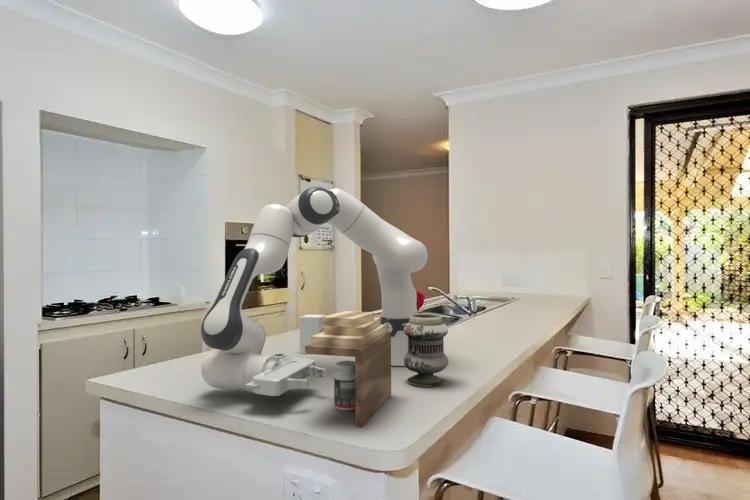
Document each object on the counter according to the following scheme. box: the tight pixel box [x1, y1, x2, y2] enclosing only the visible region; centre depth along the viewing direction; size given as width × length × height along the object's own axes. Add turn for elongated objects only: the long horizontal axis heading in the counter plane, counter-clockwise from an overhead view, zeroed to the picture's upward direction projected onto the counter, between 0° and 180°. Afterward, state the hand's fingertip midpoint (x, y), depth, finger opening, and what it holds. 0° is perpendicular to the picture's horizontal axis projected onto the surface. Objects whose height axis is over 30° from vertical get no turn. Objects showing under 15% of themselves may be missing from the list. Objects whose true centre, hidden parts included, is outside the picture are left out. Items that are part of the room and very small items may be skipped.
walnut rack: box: [304, 331, 392, 428], centre depth 108 cm, size 12×22×16 cm, turn 163°
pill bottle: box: [333, 360, 356, 411], centre depth 109 cm, size 6×6×10 cm
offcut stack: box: [311, 310, 386, 348], centre depth 108 cm, size 11×19×5 cm, turn 163°
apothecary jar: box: [403, 312, 449, 388], centre depth 129 cm, size 12×12×18 cm
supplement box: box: [299, 314, 326, 355], centre depth 167 cm, size 7×7×13 cm
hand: (317, 378), depth 111 cm, fingers open, 8 cm apart
